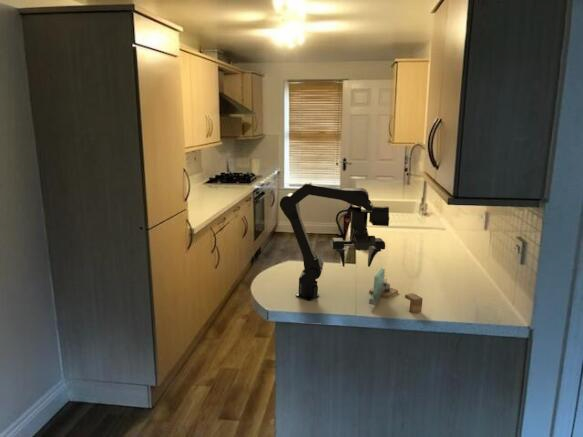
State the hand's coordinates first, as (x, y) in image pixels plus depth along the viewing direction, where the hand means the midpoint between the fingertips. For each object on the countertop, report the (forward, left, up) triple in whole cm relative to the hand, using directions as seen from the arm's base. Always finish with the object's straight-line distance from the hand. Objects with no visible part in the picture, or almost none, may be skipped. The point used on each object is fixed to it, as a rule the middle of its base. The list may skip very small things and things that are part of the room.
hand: (356, 266), depth 163 cm
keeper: (+20, +7, -13) cm, 25 cm away
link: (+6, +7, -12) cm, 15 cm away
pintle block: (+4, +14, -13) cm, 20 cm away
